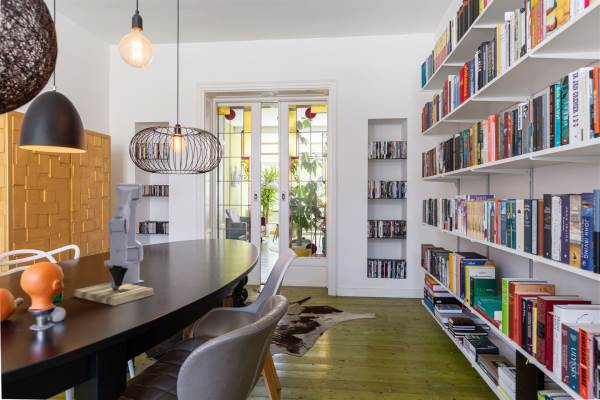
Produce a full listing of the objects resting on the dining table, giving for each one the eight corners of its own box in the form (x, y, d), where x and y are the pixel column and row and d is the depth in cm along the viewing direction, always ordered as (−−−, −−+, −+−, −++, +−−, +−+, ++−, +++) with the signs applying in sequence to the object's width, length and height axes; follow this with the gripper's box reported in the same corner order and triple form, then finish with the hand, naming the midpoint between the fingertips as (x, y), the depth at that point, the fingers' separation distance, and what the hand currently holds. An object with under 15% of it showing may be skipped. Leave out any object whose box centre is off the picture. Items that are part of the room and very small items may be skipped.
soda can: (66, 299, 129) (66, 267, 129) (52, 303, 125) (52, 269, 125) (56, 298, 131) (56, 266, 131) (42, 302, 126) (42, 268, 126)
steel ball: (115, 281, 133) (111, 289, 132) (123, 283, 135) (119, 291, 134) (112, 279, 135) (108, 287, 134) (120, 281, 137) (116, 289, 136)
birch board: (74, 296, 134) (74, 289, 134) (114, 287, 148) (114, 281, 148) (114, 305, 123) (114, 298, 123) (153, 294, 137) (153, 288, 137)
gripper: (96, 250, 134) (96, 286, 134) (121, 252, 127) (121, 290, 127) (114, 248, 140) (114, 282, 140) (138, 250, 133) (138, 286, 133)
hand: (118, 286), depth 134 cm, fingers closed, pressing on steel ball
